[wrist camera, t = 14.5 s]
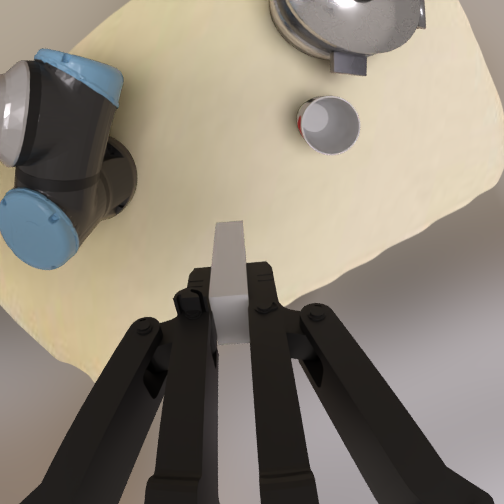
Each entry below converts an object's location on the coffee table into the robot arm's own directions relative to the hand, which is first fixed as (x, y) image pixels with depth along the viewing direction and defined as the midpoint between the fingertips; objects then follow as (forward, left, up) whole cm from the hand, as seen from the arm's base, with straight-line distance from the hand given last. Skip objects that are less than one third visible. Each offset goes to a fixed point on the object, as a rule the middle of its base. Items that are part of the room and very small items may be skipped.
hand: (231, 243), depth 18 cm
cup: (+13, +4, -34) cm, 37 cm away
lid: (+15, +23, -22) cm, 35 cm away
